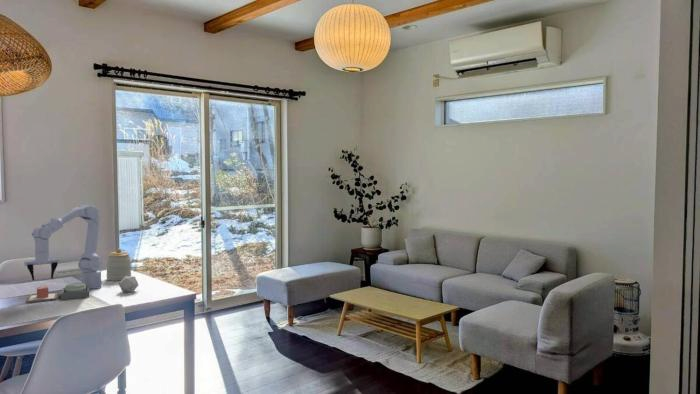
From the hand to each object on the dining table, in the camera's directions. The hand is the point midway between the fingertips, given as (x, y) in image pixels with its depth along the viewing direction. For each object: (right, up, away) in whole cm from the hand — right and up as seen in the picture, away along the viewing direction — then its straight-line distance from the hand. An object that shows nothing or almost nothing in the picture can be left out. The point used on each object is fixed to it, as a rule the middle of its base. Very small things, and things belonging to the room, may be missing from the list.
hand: (42, 279), depth 234 cm
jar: (+16, -8, +45) cm, 48 cm away
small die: (0, -9, 0) cm, 9 cm away
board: (0, -9, 0) cm, 9 cm away
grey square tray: (+12, -9, +7) cm, 17 cm away
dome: (+12, -7, +6) cm, 16 cm away
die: (+35, -9, +15) cm, 39 cm away
